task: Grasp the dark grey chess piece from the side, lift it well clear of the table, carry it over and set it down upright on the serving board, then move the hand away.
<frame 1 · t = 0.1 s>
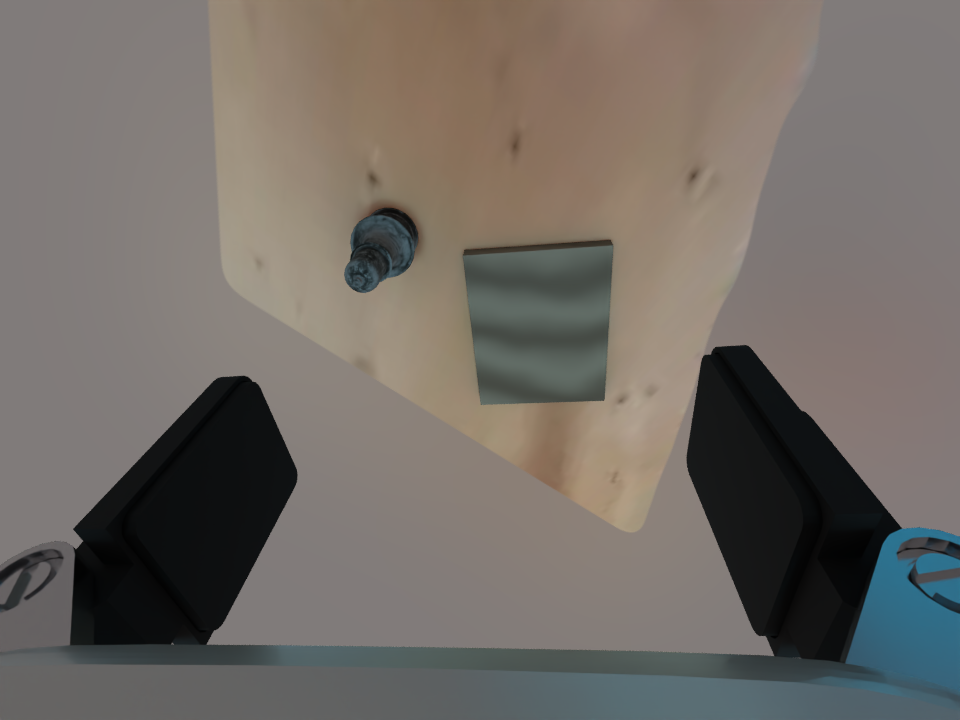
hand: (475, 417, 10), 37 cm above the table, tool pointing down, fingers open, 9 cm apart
serving board: (539, 327, 50), on the table
dark grey chess piece: (391, 234, 46), on the table
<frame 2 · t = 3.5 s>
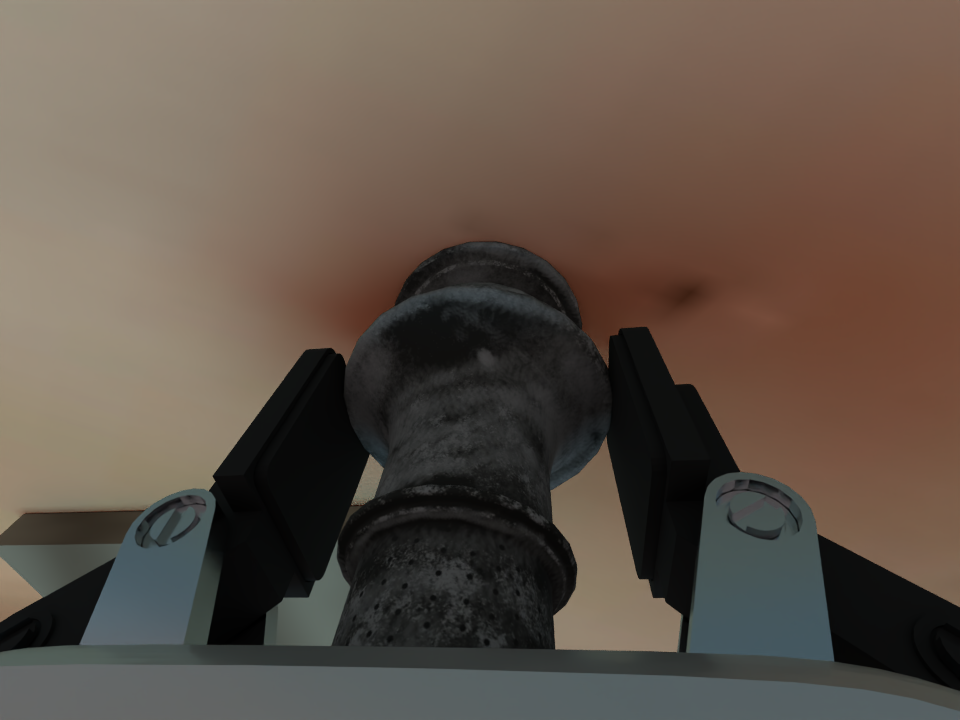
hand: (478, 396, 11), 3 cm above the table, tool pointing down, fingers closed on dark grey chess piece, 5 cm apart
serving board: (285, 610, 22), on the table
dark grey chess piece: (486, 329, 13), on the table, touching gripper
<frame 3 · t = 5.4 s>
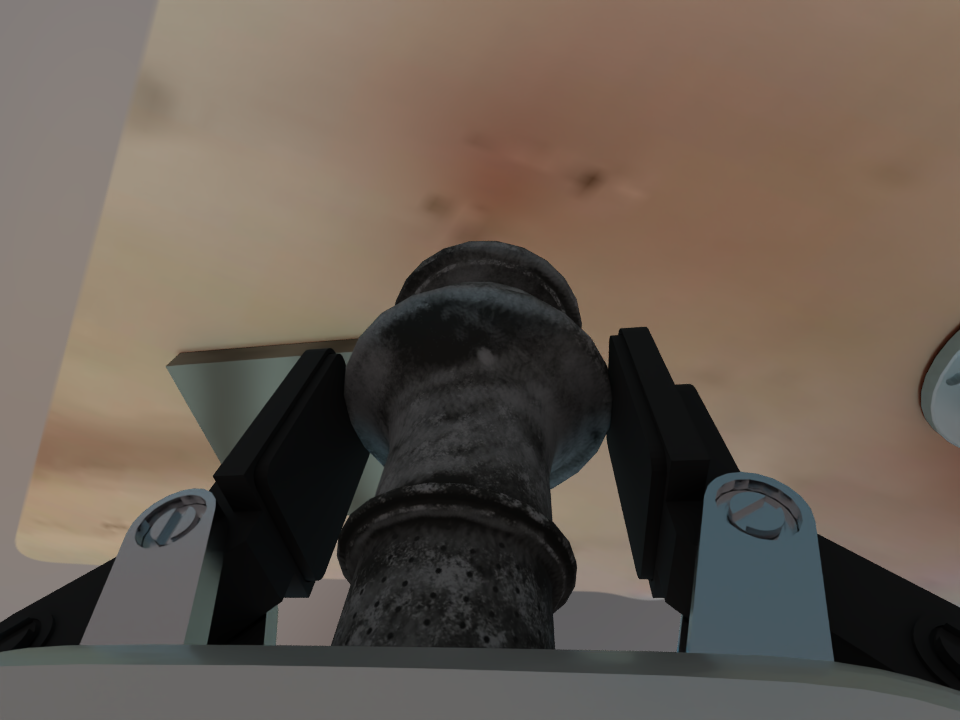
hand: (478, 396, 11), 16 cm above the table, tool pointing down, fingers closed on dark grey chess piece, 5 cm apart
serving board: (347, 429, 32), on the table
dark grey chess piece: (486, 328, 13), point 12 cm above the table, touching gripper
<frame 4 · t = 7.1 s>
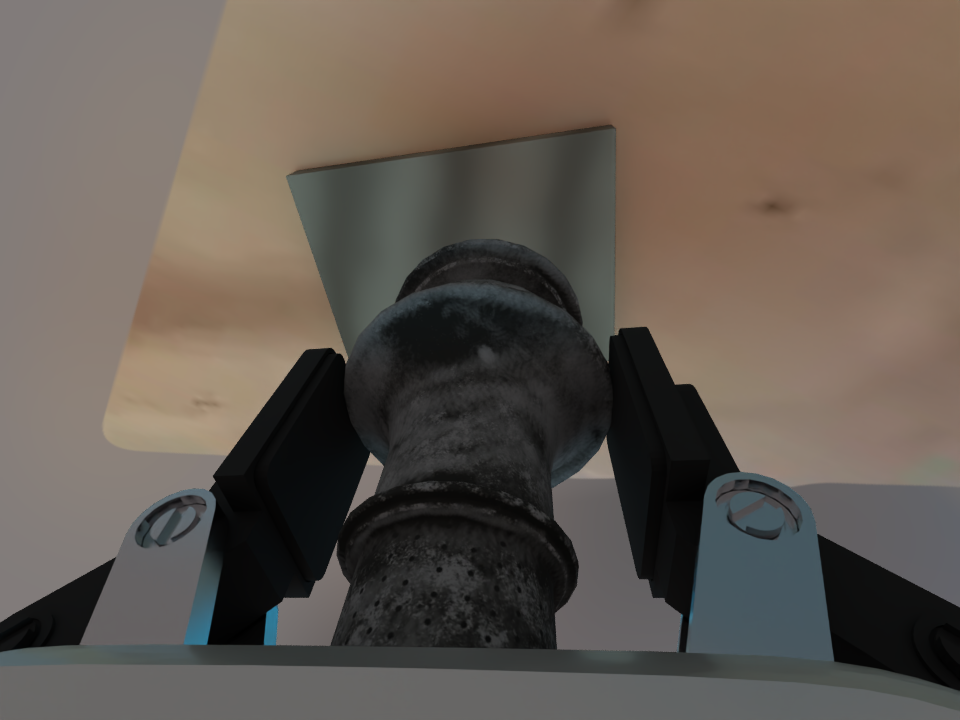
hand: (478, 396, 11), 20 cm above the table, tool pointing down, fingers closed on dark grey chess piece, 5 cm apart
serving board: (466, 266, 30), on the table
dark grey chess piece: (487, 327, 13), point 17 cm above the table, touching gripper
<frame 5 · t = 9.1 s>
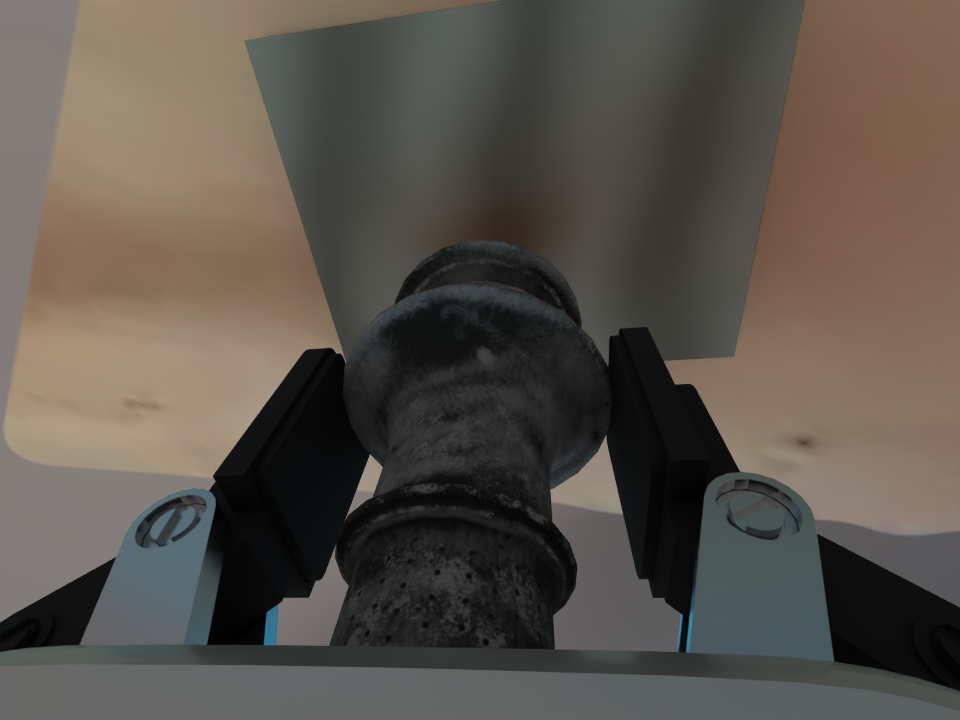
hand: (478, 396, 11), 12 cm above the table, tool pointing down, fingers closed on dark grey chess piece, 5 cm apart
serving board: (522, 210, 20), on the table
dark grey chess piece: (486, 328, 13), point 8 cm above the table, touching gripper
when the fingers open (6 cm above the table, at t = 10.6 s): dark grey chess piece drops 1 cm, resting on serving board.
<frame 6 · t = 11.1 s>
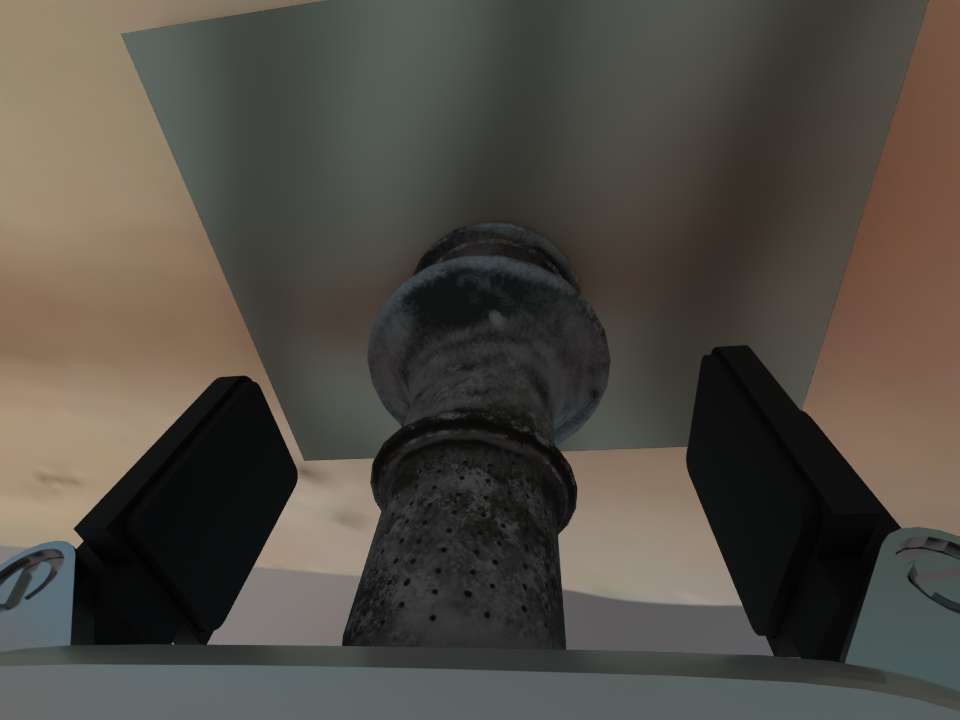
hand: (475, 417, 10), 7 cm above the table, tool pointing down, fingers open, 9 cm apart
serving board: (519, 258, 15), on the table
dark grey chess piece: (494, 304, 15), point 1 cm above the table, touching serving board
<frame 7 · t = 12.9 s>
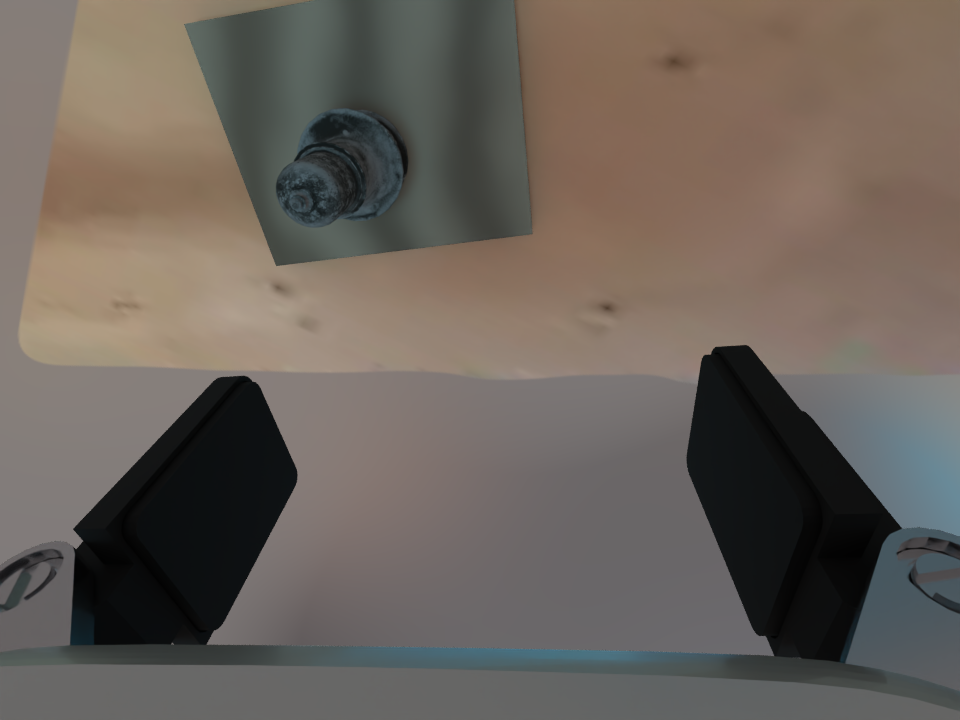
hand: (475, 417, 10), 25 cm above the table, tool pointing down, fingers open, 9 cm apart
serving board: (380, 136, 30), on the table
dark grey chess piece: (366, 157, 29), point 1 cm above the table, touching serving board
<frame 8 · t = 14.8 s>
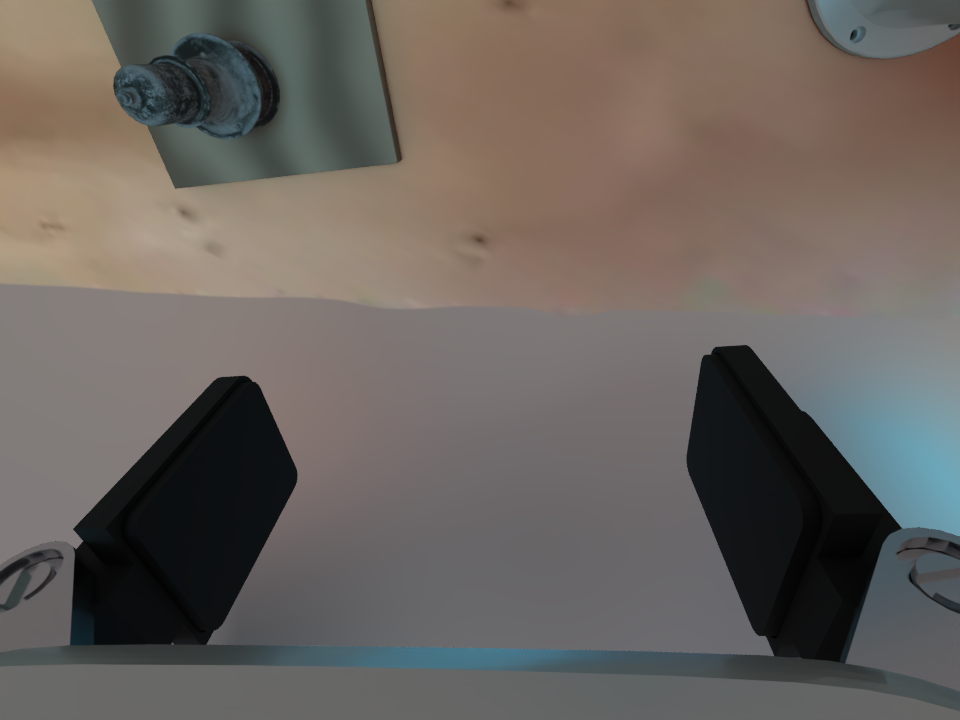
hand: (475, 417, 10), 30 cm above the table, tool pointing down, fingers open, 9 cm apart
serving board: (258, 68, 33), on the table
dark grey chess piece: (243, 86, 33), point 1 cm above the table, touching serving board
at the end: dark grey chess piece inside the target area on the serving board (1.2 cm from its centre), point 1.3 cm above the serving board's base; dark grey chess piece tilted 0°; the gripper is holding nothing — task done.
